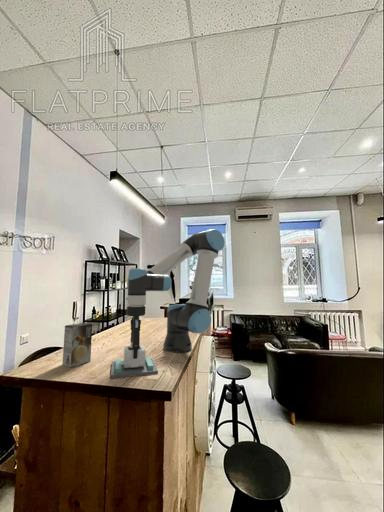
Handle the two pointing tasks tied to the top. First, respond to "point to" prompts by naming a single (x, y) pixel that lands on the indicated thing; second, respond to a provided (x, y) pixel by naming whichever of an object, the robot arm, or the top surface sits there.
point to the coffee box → (77, 344)
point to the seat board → (133, 368)
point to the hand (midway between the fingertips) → (133, 363)
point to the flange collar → (128, 356)
